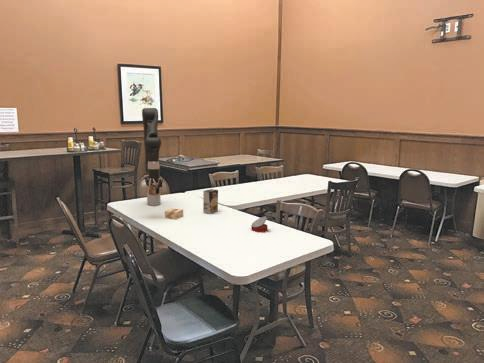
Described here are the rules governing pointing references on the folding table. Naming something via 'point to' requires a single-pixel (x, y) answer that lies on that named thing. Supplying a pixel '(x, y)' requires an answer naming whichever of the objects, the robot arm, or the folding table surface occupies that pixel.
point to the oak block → (174, 213)
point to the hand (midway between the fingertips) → (154, 193)
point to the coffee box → (210, 201)
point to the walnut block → (153, 190)
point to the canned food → (259, 225)
